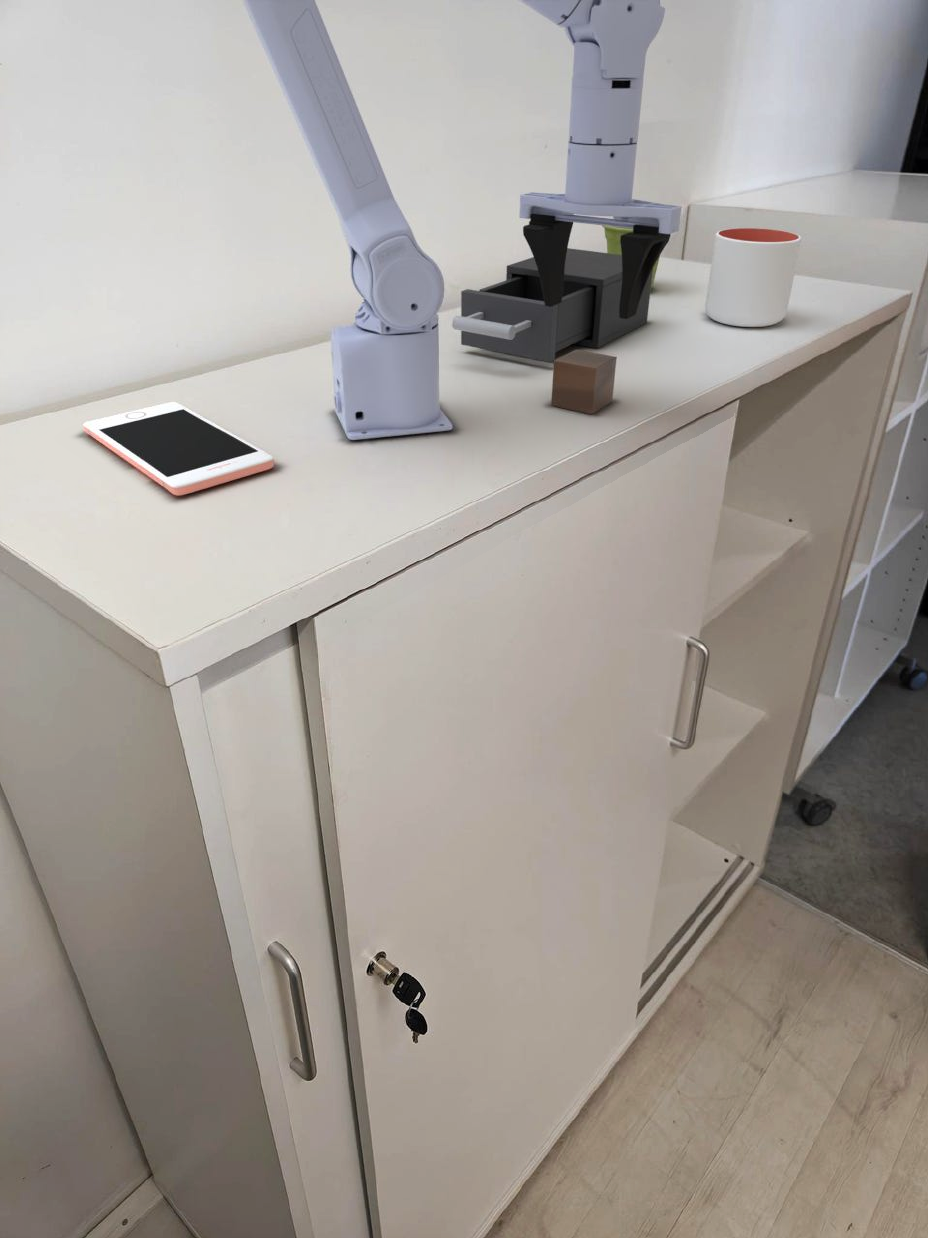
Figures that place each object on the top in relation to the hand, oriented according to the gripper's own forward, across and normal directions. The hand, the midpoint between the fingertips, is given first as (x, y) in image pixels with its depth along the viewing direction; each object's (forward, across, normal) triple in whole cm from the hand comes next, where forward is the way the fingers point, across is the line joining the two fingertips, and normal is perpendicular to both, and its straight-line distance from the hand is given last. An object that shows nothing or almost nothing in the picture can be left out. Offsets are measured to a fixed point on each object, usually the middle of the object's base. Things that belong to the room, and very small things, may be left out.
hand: (589, 310), depth 81 cm
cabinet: (+9, +14, -24) cm, 29 cm away
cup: (+9, -2, -40) cm, 41 cm away
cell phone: (+9, +23, +30) cm, 39 cm away
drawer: (+8, +13, -11) cm, 19 cm away
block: (+9, 0, 0) cm, 9 cm away
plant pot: (+9, +17, -47) cm, 51 cm away
